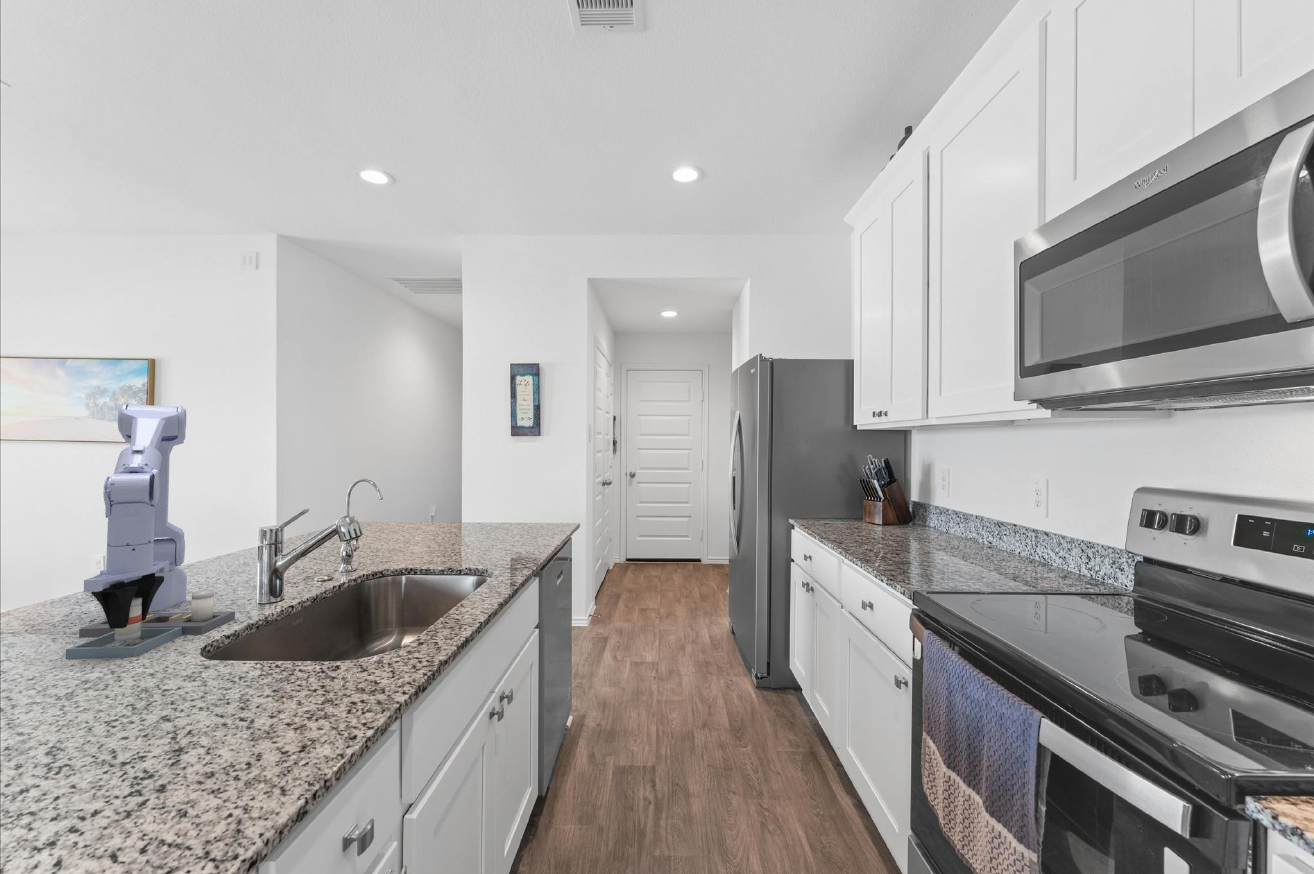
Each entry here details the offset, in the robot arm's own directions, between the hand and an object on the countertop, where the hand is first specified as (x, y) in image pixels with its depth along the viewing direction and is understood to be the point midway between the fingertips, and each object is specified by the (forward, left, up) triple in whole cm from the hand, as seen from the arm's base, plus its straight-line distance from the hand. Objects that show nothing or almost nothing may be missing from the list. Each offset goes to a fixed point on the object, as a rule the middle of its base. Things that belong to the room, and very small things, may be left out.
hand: (128, 624), depth 92 cm
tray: (0, 0, -5) cm, 5 cm away
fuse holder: (-10, -2, -5) cm, 11 cm away
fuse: (-10, +5, -4) cm, 12 cm away
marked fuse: (0, 0, -2) cm, 2 cm away
